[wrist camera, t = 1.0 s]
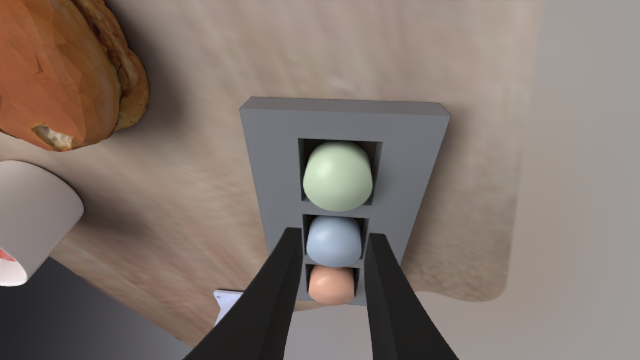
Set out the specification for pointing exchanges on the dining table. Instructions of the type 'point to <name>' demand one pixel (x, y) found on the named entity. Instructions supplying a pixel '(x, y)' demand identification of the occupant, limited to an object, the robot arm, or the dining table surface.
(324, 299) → the terracotta button
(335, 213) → the button panel
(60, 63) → the burger
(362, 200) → the green button
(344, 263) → the blue button
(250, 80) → the dining table surface
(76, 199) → the candle
